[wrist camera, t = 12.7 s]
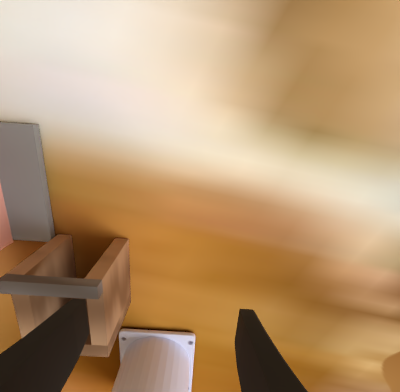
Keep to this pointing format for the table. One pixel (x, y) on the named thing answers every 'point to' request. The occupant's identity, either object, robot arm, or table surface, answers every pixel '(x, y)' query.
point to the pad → (25, 182)
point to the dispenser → (72, 290)
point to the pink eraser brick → (4, 224)
